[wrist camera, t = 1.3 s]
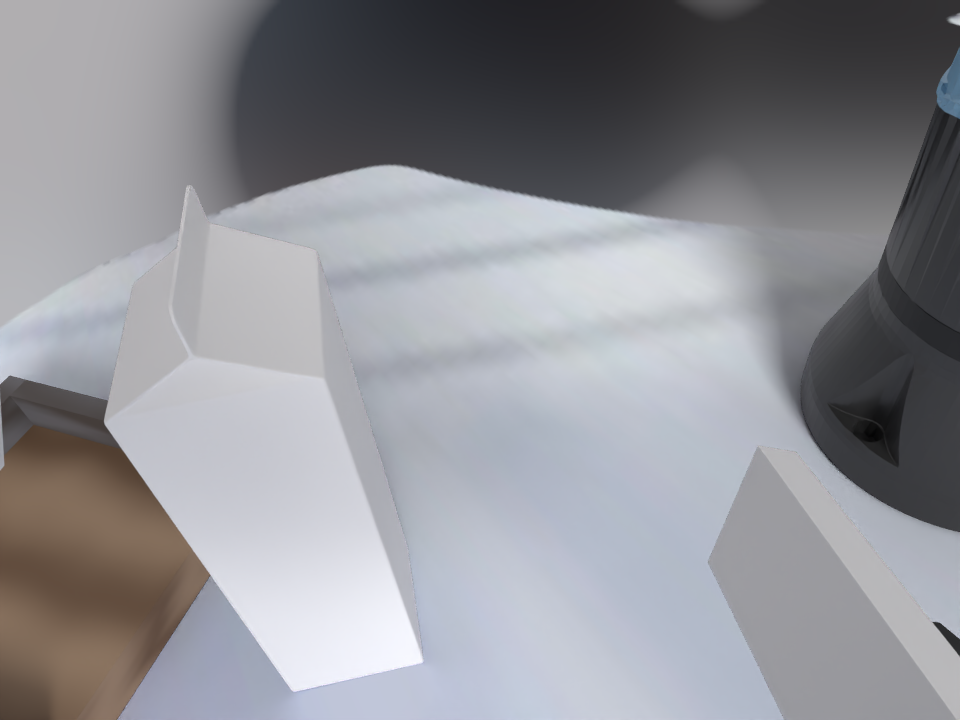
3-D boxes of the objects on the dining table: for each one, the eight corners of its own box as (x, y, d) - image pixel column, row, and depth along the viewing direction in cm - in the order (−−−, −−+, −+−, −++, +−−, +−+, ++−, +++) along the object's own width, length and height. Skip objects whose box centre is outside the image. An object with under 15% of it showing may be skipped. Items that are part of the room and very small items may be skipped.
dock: (53, 431, 46) (9, 375, 42) (264, 490, 41) (235, 433, 38) (-184, 688, 35) (-269, 643, 32) (62, 804, 31) (-5, 766, 27)
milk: (292, 694, 33) (32, 341, 18) (290, 572, 38) (79, 199, 22) (428, 663, 34) (293, 290, 18) (411, 546, 38) (289, 159, 22)
